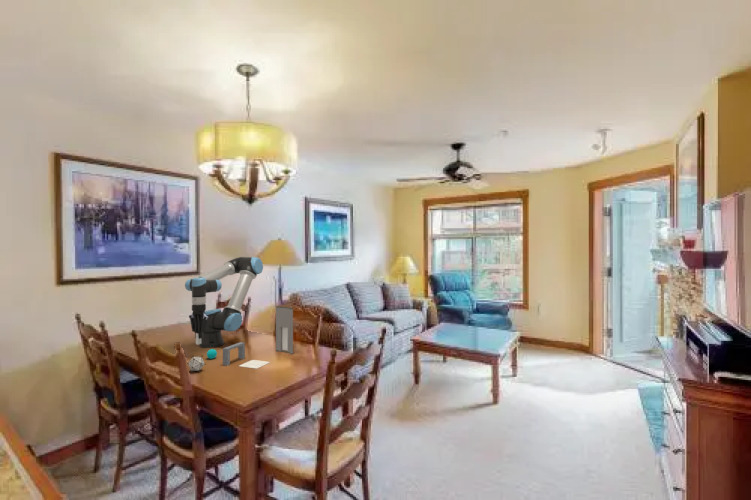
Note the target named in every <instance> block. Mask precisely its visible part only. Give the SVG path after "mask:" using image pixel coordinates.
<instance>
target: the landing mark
mask: <svg viewBox="0 0 751 500" xmlns="http://www.w3.org/2000/svg"><path fill="white" fill-rule="evenodd" d="M269 363H271V361H266V360H265V361H264V360H259V359H258V360H257V359H251V360H248V361H246V362H244V363H242V364H240V365H238V367H241V368H248V369H249V368H250V369H254V370H255V369H256V370H257V369H260V368H261V367H263V366H265V365H268V364H269Z"/></svg>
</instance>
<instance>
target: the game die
mask: <svg viewBox="0 0 751 500" xmlns="http://www.w3.org/2000/svg"><path fill="white" fill-rule="evenodd" d="M186 363H187V364H186V365H187V366H189V367H188V368H189V370H190V371H189V372H190V373H191V372H195V371H196V372H199V373H201V370H202V369H203V367H204V366H205V365H206V366H207V363H206V362H205V361H204V359H203V355H201V356H195V355H192V358H191V359H190V360H189V361H188V362H186Z"/></svg>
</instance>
